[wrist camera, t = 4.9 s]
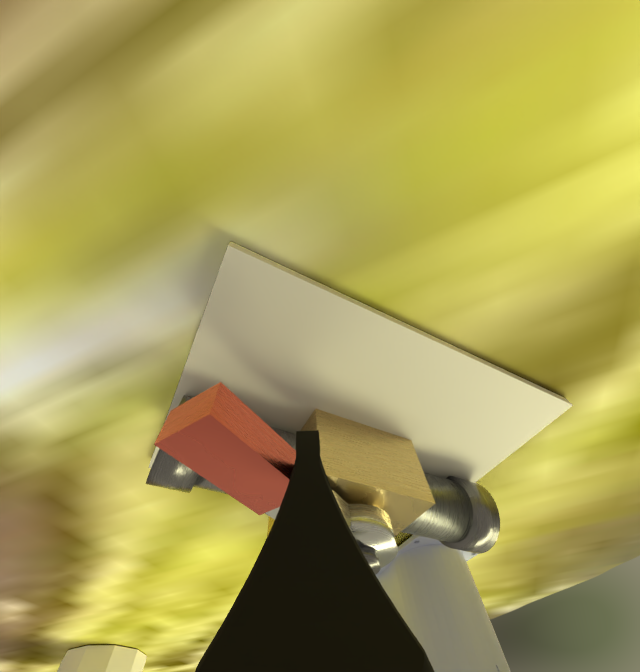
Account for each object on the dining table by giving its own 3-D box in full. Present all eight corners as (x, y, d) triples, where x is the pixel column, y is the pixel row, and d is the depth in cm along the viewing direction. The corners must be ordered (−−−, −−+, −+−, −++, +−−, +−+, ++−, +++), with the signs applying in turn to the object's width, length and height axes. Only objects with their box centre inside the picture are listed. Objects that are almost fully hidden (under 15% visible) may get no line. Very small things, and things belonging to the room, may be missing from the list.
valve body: (430, 503, 25) (455, 570, 21) (169, 435, 19) (135, 512, 15) (484, 458, 22) (525, 527, 18) (198, 361, 16) (164, 431, 12)
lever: (403, 528, 17) (415, 572, 15) (335, 552, 18) (339, 596, 16) (243, 369, 10) (231, 413, 8) (151, 421, 11) (124, 471, 9)
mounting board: (414, 521, 26) (416, 528, 26) (152, 459, 20) (148, 467, 19) (565, 398, 19) (573, 405, 19) (230, 241, 13) (227, 245, 12)
